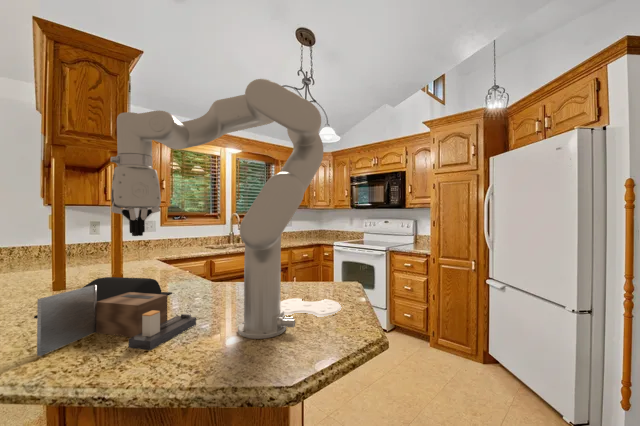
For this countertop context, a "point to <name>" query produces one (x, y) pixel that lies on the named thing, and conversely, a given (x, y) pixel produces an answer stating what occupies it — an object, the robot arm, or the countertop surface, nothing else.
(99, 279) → the black piece
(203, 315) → the countertop surface
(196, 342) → the countertop surface
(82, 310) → the door
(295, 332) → the countertop surface
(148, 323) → the fader knob
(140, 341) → the fader strip
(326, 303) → the white bone shape
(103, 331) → the wooden block
